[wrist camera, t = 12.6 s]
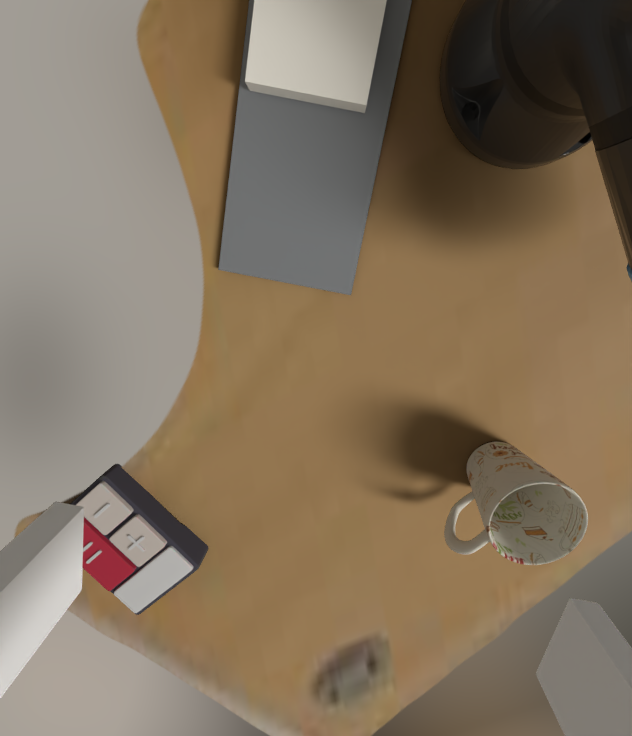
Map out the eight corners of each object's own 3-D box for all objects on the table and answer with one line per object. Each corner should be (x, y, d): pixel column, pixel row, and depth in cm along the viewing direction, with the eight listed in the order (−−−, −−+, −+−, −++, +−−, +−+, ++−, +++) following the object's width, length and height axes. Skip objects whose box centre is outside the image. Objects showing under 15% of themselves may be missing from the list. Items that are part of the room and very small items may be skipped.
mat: (426, -74, 32) (428, -80, 31) (350, 294, 40) (350, 295, 40) (263, -107, 32) (262, -113, 31) (220, 269, 40) (218, 269, 39)
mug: (549, 464, 44) (609, 524, 35) (462, 535, 47) (495, 608, 38) (497, 415, 43) (544, 463, 33) (411, 491, 46) (431, 555, 36)
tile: (364, 114, 35) (400, -74, 32) (366, 105, 33) (405, -98, 29) (250, 91, 35) (273, -99, 32) (244, 81, 33) (269, -125, 29)
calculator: (98, 477, 43) (197, 572, 45) (120, 459, 48) (210, 547, 49) (37, 533, 46) (133, 622, 48) (63, 511, 50) (151, 593, 52)
